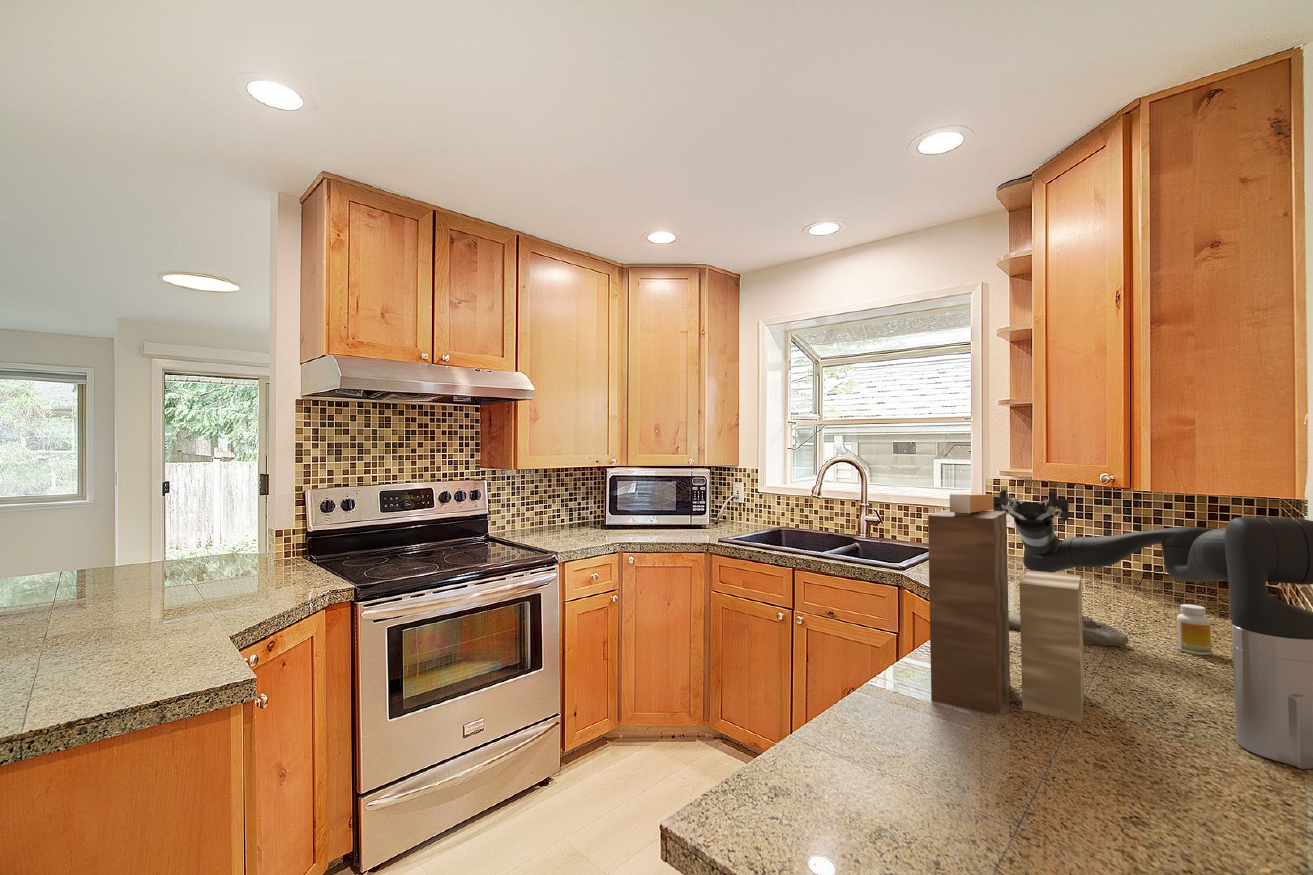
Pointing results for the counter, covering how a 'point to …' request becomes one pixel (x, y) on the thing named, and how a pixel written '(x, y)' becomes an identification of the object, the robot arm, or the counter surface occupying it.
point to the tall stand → (969, 609)
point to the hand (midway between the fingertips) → (1027, 493)
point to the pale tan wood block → (970, 502)
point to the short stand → (1052, 644)
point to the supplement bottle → (1193, 630)
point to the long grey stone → (1086, 631)
